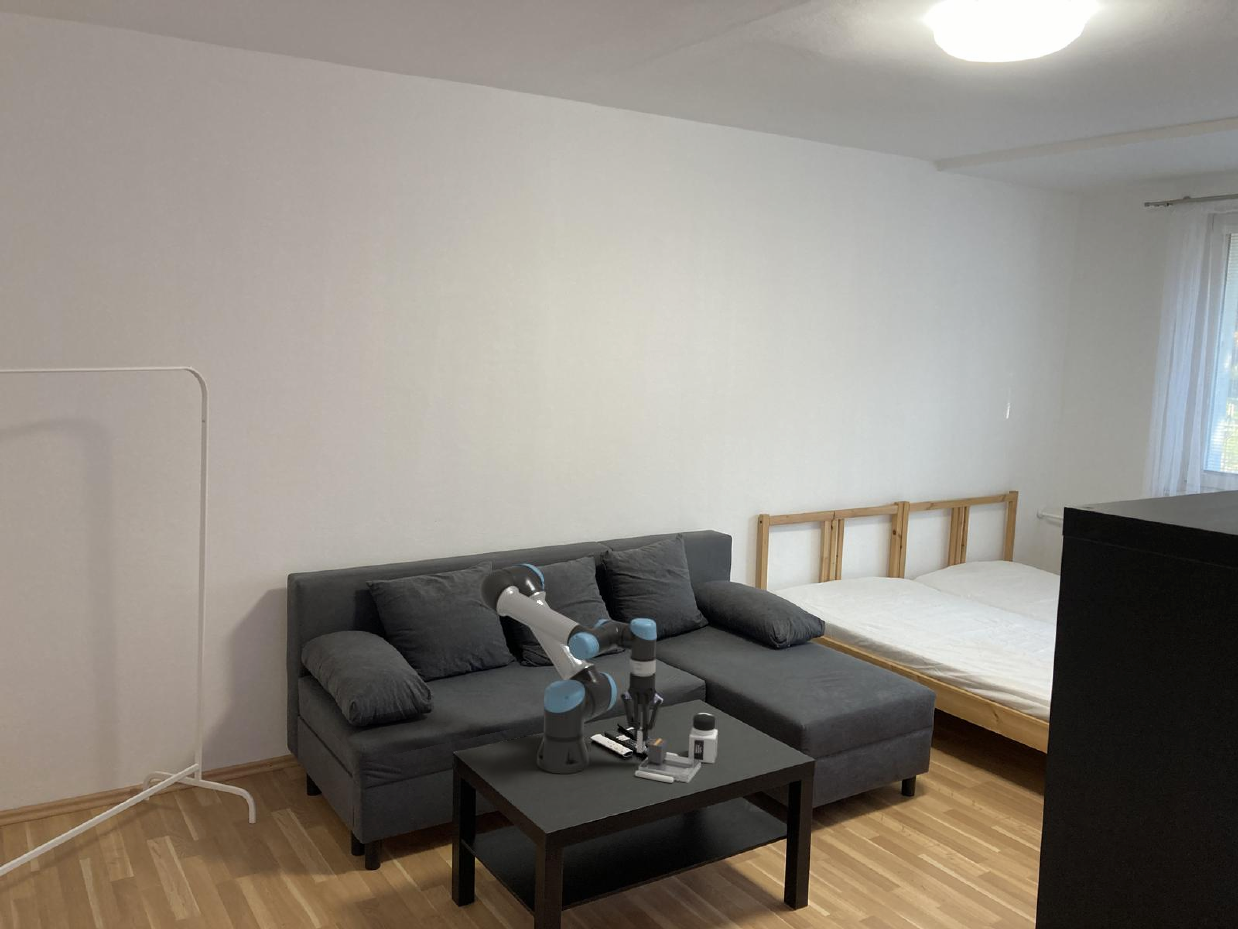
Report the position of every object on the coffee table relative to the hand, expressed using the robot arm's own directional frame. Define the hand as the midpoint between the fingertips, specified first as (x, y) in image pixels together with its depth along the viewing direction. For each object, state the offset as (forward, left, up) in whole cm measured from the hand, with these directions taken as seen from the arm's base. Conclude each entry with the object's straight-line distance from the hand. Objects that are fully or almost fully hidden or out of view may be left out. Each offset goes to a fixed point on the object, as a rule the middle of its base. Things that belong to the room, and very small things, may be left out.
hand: (640, 751), depth 292 cm
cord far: (+3, +8, -4) cm, 10 cm away
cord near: (+7, -8, -4) cm, 11 cm away
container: (+15, +13, -4) cm, 21 cm away
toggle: (+5, 0, -2) cm, 5 cm away
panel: (+9, 0, -4) cm, 10 cm away
